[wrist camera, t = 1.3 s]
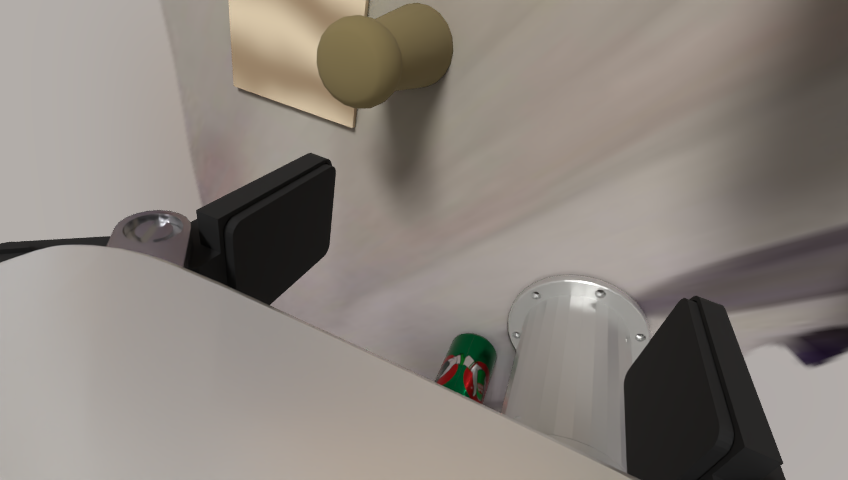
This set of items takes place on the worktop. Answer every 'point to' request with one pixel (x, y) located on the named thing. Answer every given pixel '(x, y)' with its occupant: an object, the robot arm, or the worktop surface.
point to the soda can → (468, 366)
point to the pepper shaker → (383, 54)
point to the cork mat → (288, 51)
